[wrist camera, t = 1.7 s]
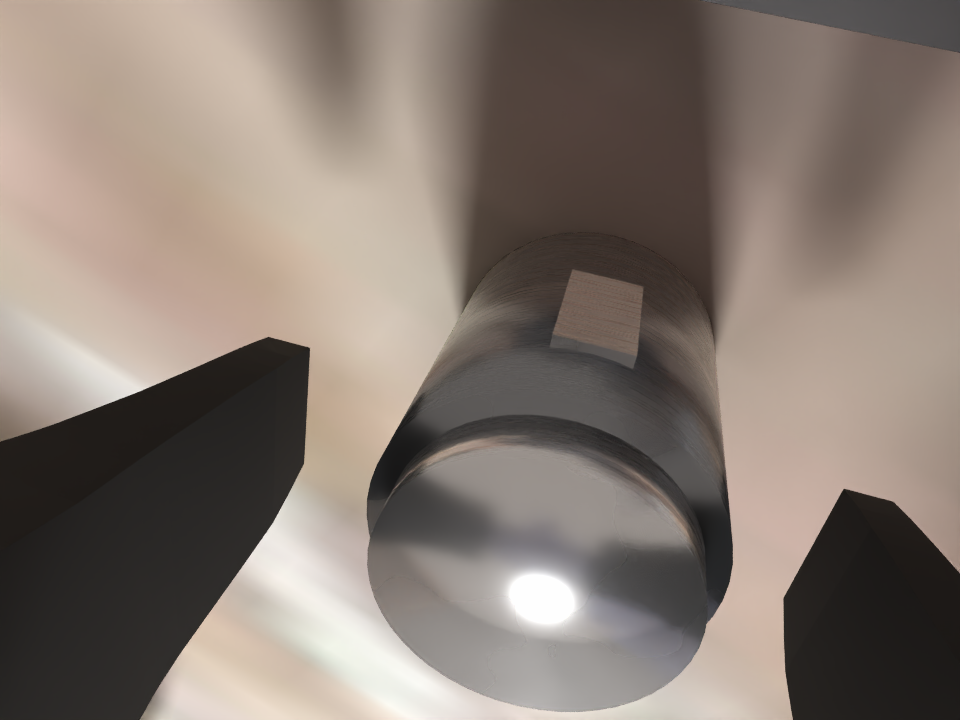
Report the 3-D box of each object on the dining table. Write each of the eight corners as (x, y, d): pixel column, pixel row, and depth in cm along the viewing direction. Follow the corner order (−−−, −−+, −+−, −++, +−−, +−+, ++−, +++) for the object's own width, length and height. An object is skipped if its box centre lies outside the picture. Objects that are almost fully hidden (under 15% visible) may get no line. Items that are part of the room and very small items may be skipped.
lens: (670, 479, 14) (667, 769, 9) (447, 418, 15) (331, 664, 10) (754, 261, 12) (810, 495, 7) (485, 197, 12) (359, 374, 7)
